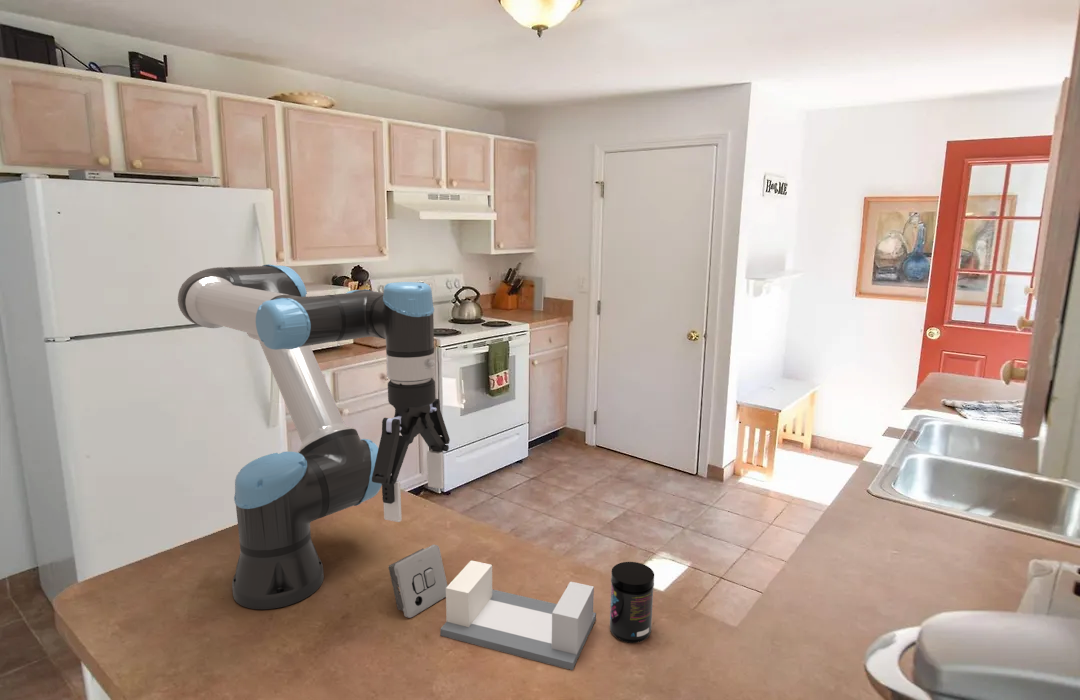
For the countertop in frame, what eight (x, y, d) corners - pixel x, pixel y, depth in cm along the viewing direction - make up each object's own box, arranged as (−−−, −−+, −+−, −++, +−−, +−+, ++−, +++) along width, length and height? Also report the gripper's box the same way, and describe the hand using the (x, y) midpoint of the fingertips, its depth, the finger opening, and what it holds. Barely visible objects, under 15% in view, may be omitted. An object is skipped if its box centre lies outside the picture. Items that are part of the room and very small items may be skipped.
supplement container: (630, 613, 106) (632, 557, 103) (660, 634, 100) (663, 575, 98) (600, 628, 102) (602, 570, 100) (630, 651, 96) (633, 589, 94)
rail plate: (440, 635, 99) (439, 594, 98) (476, 591, 111) (476, 554, 110) (572, 670, 92) (573, 626, 90) (595, 619, 104) (597, 580, 102)
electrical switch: (408, 621, 103) (403, 568, 102) (388, 611, 106) (383, 560, 105) (450, 596, 110) (445, 546, 109) (430, 587, 113) (426, 539, 112)
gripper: (387, 401, 88) (393, 540, 92) (467, 365, 111) (469, 478, 115) (342, 395, 90) (350, 531, 94) (429, 362, 113) (433, 472, 117)
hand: (415, 502), depth 104 cm, fingers open, 13 cm apart
